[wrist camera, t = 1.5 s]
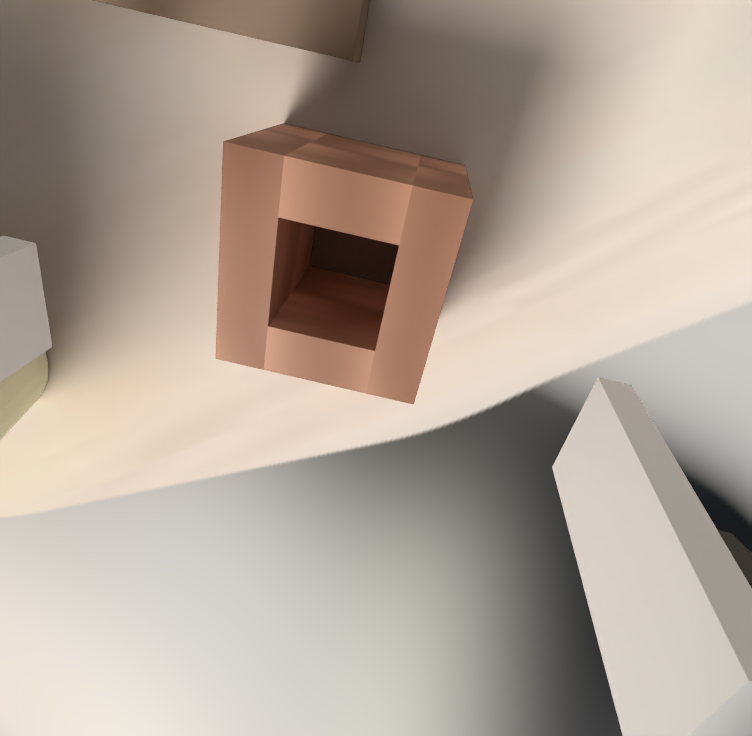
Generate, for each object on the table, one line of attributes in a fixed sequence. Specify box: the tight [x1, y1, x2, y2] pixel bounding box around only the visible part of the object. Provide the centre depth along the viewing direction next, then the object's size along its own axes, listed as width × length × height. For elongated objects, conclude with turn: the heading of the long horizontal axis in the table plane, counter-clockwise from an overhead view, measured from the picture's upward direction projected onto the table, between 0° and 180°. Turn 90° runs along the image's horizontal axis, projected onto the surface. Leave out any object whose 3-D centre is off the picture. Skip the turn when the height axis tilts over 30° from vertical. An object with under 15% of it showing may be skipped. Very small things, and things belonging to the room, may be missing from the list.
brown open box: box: [216, 124, 473, 404], centre depth 18 cm, size 7×7×6 cm
